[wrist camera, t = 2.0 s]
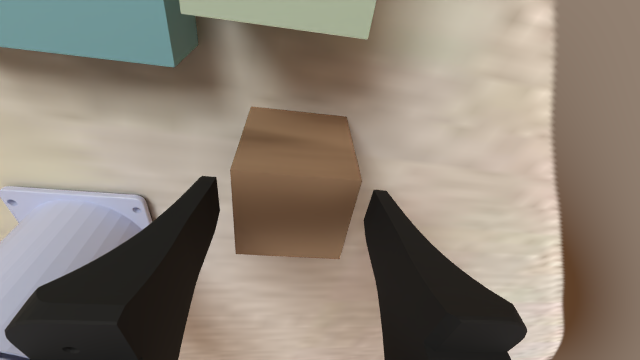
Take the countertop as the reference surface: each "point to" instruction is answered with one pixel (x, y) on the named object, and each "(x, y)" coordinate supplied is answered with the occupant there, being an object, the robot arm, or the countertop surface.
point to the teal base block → (101, 29)
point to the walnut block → (293, 184)
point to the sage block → (291, 14)
